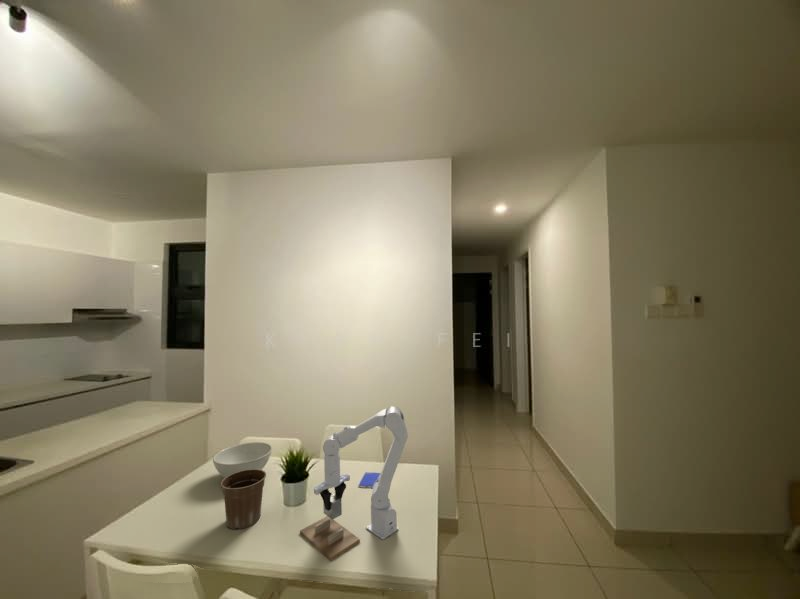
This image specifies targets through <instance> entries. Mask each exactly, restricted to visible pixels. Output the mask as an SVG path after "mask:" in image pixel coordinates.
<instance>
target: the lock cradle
mask: <svg viewBox="0 0 800 599" xmlns="http://www.w3.org/2000/svg"><path fill="white" fill-rule="evenodd" d="M299 534H300V535H301V536H302V537H304V538H305V539H306V540H307V541H308V543H310V544H311V545H312V546H314V548H316V550H318V551H319V552H320V553H321V554H322V555H323V556H325V558H327V559H328V560H329V561H332V560H334V559H335V558H338V557H339V556H340V555H342V554H343V553H345V552H346V551H348V550H350V549H351V548H352V547H355V546H356V545H357V544H359V543H360V541H361V538H359V537H358V536H356V535H355V534H354V533H352V532H351V531H349V529H347V528H345V527H344V526H343V525H341V524H340V523H339V522H337V521H336V520H334V519H333V520H332V519H331V518H330V517H328V516H327V515H326V516H325V517H323V518H321V519H319V520H317V521H315V522H313V523H312V524H310V525H308V526H306V527H304V528H302V529H300V530H299Z"/></svg>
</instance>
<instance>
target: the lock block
mask: <svg viewBox="0 0 800 599" xmlns="http://www.w3.org/2000/svg"><path fill="white" fill-rule="evenodd" d="M331 493H332V494H331V498H330V510H329V511H328V510H326V509H325V505H324V502H323V501H322V503H323V514H324V515H326V516H328V517H330V518H331V519H332V520H334V519H336V518H339V517H340V516H342V512H343V510H342V509H343V508H342V506H343V505H342V499H341V498H340V497H339V496H337V495H336V494H335V492H331Z"/></svg>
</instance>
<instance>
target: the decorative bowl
mask: <svg viewBox="0 0 800 599" xmlns="http://www.w3.org/2000/svg"><path fill="white" fill-rule="evenodd" d="M272 451H273V447H272V445H270V444H269V443H266V442H258V441H257V442H256V441H254V442H253V441H252V442H244V443H239V444H235V445H232V446H229V447H226V448H224V449H222V450H220V451H219V452H217V453H216V454H215V455H214V456H213V457H212V462H213V465H214V467H215V468H214V469H216V471H217V472H218V473H219V474H220V476H222V478H223V479H224V478H226V477H227V476H229V475H231V474H233V473H236V472H239V471H243V470H248V469H259V470H263V469H264V468H265V466H266V465H267V463H268V462H269V460H270V457H271V455H272Z"/></svg>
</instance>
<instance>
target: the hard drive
mask: <svg viewBox="0 0 800 599" xmlns="http://www.w3.org/2000/svg"><path fill="white" fill-rule="evenodd" d="M380 474H381V472H367V471H366V472H365V473H363V476H362V478H361V480H360V482H359V484H358V485H357V488H363V489H364V488H365V489H373V484H374V482H375V481H376V480H377V479H378V477H379V475H380Z"/></svg>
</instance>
